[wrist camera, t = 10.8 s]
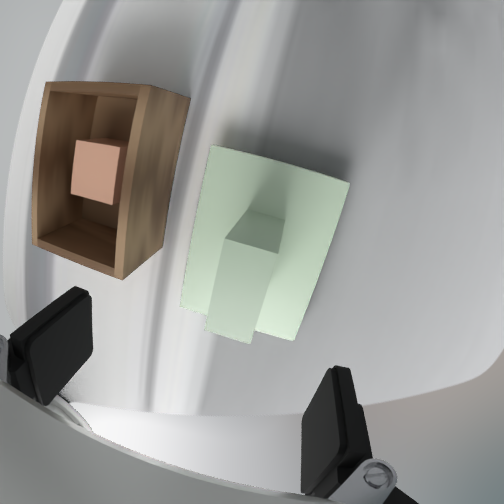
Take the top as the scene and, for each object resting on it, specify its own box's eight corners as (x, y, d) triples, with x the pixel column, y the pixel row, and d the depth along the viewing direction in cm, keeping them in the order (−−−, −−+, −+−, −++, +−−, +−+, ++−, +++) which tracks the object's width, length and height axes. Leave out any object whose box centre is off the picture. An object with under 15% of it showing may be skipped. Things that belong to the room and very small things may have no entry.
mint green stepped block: (294, 326, 24) (288, 400, 16) (188, 294, 24) (145, 355, 17) (345, 179, 19) (372, 202, 12) (219, 144, 20) (172, 147, 12)
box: (162, 247, 23) (122, 280, 17) (80, 221, 23) (32, 244, 18) (190, 98, 19) (151, 85, 13) (98, 88, 19) (45, 81, 14)
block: (139, 194, 21) (112, 205, 18) (100, 184, 21) (70, 193, 18) (147, 145, 20) (120, 147, 16) (106, 138, 20) (76, 140, 17)
